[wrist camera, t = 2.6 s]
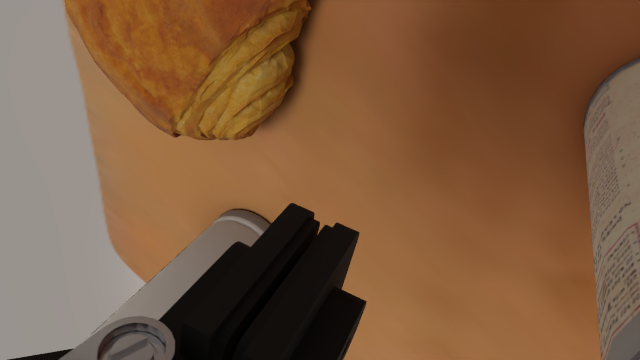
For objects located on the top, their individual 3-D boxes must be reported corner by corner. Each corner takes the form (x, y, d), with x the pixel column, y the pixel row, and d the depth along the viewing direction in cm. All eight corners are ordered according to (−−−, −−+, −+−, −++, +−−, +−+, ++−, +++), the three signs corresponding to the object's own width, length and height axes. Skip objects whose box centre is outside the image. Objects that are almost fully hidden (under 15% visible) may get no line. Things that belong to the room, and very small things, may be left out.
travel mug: (297, 278, 38) (104, 550, 22) (229, 270, 41) (15, 504, 25) (279, 210, 35) (45, 462, 19) (208, 206, 38) (-46, 422, 22)
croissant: (231, 136, 37) (172, 200, 31) (76, -41, 32) (-28, -5, 26) (380, 34, 28) (337, 95, 22) (196, -227, 24) (80, -238, 18)
